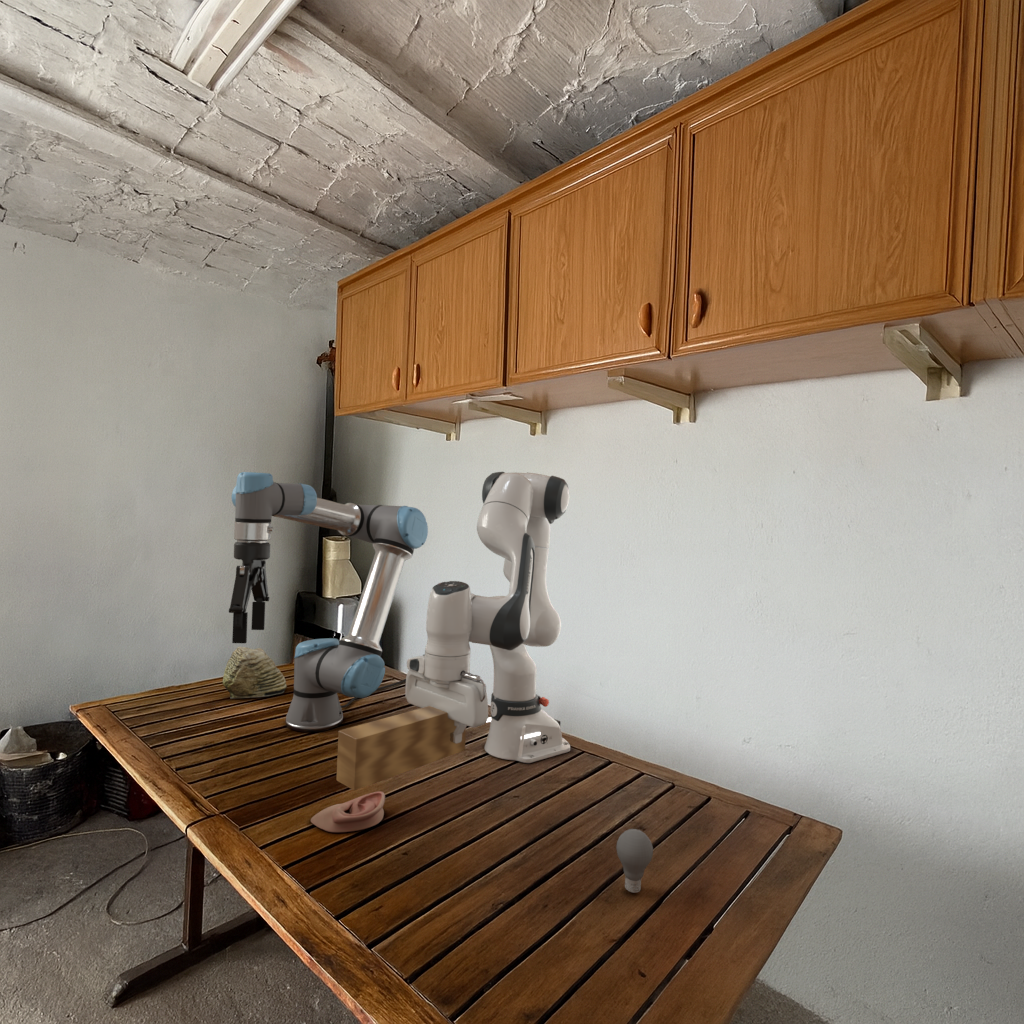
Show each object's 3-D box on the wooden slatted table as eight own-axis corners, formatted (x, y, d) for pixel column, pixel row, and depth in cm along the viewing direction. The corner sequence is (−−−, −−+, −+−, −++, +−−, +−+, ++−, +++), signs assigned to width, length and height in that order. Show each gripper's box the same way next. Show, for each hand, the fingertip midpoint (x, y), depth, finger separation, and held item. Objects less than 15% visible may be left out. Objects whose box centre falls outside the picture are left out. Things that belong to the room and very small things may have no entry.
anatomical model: (303, 807, 121) (332, 781, 132) (302, 827, 121) (331, 800, 132) (368, 817, 118) (392, 790, 129) (367, 838, 118) (391, 809, 129)
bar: (354, 790, 105) (356, 739, 104) (336, 780, 108) (338, 730, 108) (465, 750, 124) (467, 706, 124) (446, 742, 127) (448, 700, 127)
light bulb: (610, 879, 108) (613, 822, 108) (644, 879, 109) (647, 822, 109) (619, 902, 102) (622, 840, 102) (655, 901, 103) (658, 840, 103)
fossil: (218, 695, 195) (220, 647, 195) (278, 685, 208) (279, 640, 207) (228, 703, 189) (230, 653, 188) (289, 692, 201) (290, 645, 201)
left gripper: (253, 546, 129) (249, 649, 130) (283, 538, 154) (280, 625, 155) (215, 545, 129) (211, 648, 129) (251, 537, 153) (248, 624, 154)
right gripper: (497, 675, 118) (494, 748, 118) (425, 653, 132) (422, 719, 132) (473, 681, 114) (470, 757, 114) (401, 658, 127) (398, 726, 127)
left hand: (249, 636), depth 142 cm, fingers open, 13 cm apart
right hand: (443, 737), depth 123 cm, fingers closed on bar, 5 cm apart
